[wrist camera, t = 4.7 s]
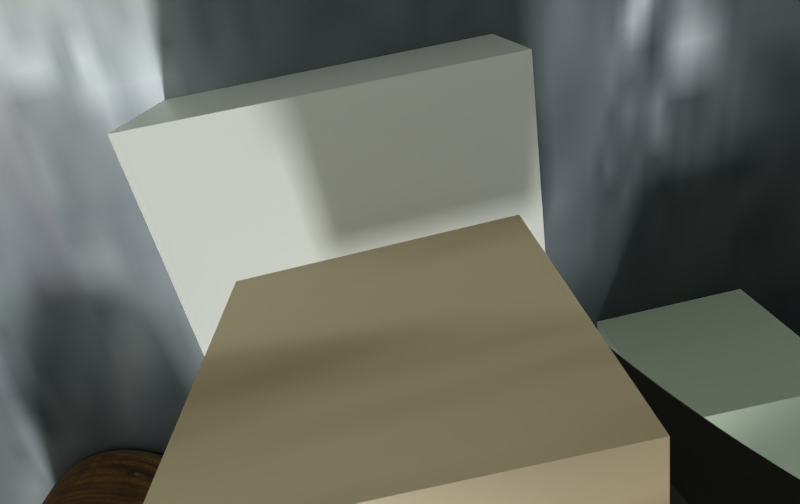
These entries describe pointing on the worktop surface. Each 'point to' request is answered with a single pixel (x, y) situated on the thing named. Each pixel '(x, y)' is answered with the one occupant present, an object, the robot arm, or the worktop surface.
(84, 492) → the utensil holder
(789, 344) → the sage cube
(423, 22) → the worktop surface
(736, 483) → the robot arm
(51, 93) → the worktop surface
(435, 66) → the grey base block
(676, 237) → the worktop surface
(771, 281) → the worktop surface
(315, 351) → the maple cube
